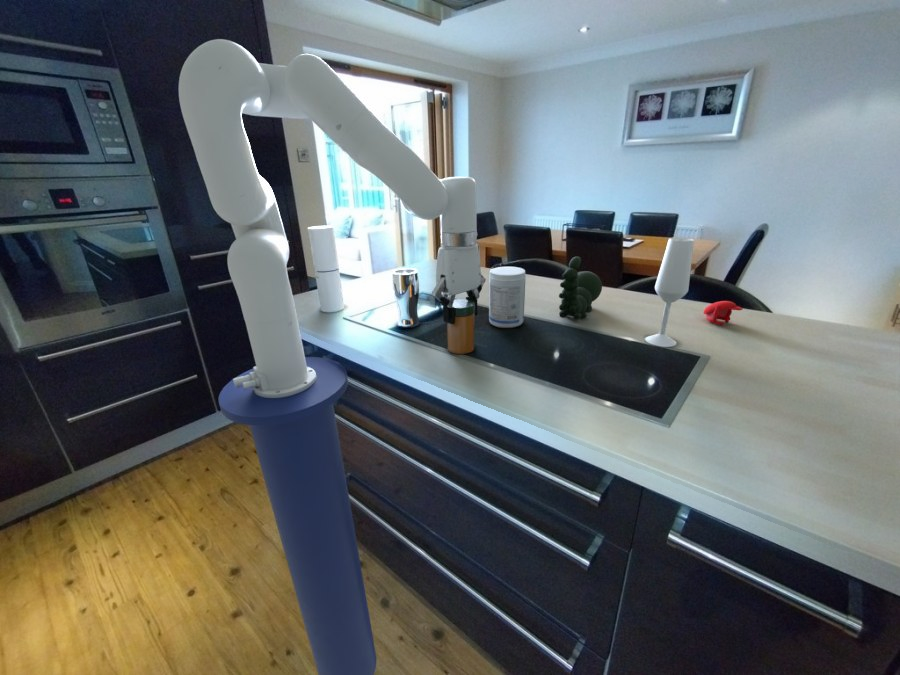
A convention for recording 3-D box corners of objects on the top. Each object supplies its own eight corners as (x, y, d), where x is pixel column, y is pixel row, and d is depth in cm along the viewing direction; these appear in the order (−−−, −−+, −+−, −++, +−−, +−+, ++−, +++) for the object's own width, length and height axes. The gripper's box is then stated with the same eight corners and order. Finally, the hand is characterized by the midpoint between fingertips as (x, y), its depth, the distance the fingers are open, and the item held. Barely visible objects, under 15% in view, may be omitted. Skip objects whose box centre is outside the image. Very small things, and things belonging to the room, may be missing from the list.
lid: (480, 311, 89) (481, 303, 88) (460, 318, 85) (460, 310, 84) (460, 304, 93) (460, 297, 92) (440, 311, 89) (439, 303, 88)
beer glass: (400, 330, 104) (396, 275, 98) (393, 322, 110) (388, 270, 104) (424, 326, 107) (421, 272, 101) (416, 318, 112) (413, 267, 107)
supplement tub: (499, 314, 113) (500, 264, 108) (529, 320, 108) (532, 268, 102) (482, 325, 106) (482, 272, 100) (513, 331, 101) (515, 276, 95)
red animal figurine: (701, 324, 102) (706, 302, 100) (701, 317, 107) (706, 296, 105) (738, 329, 98) (744, 306, 96) (736, 321, 103) (742, 300, 101)
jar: (458, 356, 88) (458, 312, 84) (442, 347, 93) (440, 305, 89) (479, 349, 92) (480, 306, 88) (462, 340, 97) (462, 299, 92)
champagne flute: (656, 348, 90) (677, 242, 80) (639, 336, 96) (657, 237, 86) (683, 345, 90) (707, 240, 81) (664, 334, 97) (684, 236, 87)
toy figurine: (582, 334, 102) (605, 300, 120) (589, 264, 93) (612, 239, 112) (547, 328, 107) (574, 296, 125) (551, 261, 98) (579, 237, 116)
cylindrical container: (335, 313, 119) (322, 229, 109) (316, 311, 121) (302, 228, 111) (348, 306, 125) (337, 225, 115) (330, 304, 127) (318, 225, 117)
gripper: (474, 233, 90) (474, 306, 97) (416, 243, 80) (421, 324, 87) (498, 235, 85) (497, 312, 92) (440, 247, 75) (444, 333, 82)
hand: (460, 317), depth 89 cm, fingers closed on lid, 6 cm apart
